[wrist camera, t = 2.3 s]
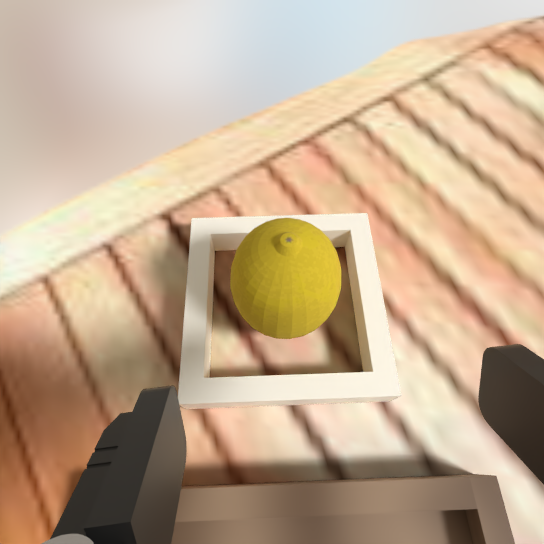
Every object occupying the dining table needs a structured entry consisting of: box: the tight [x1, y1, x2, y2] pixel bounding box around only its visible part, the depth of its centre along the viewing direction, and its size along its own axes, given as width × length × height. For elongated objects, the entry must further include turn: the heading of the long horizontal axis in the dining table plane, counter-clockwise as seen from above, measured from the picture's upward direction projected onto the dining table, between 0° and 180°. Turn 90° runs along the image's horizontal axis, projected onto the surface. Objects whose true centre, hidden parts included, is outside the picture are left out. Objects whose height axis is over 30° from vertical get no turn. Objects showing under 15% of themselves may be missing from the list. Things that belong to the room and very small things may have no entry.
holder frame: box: [178, 213, 401, 409], centre depth 21 cm, size 11×11×2 cm
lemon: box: [230, 218, 341, 339], centre depth 18 cm, size 6×6×8 cm
